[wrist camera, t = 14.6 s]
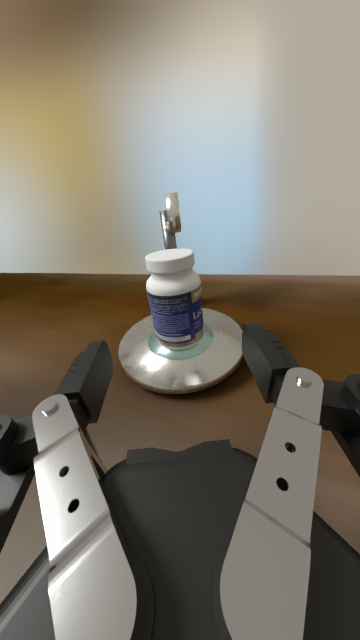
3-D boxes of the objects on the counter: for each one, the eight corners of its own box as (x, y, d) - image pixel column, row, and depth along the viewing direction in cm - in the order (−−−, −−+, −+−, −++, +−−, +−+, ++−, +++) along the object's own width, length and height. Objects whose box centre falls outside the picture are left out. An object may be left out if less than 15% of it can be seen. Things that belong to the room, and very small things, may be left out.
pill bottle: (208, 348, 22) (203, 256, 17) (156, 355, 22) (135, 266, 17) (200, 321, 27) (194, 243, 22) (158, 326, 27) (141, 250, 22)
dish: (109, 409, 19) (102, 394, 18) (133, 324, 32) (129, 313, 31) (264, 391, 19) (267, 376, 18) (226, 313, 32) (226, 301, 31)
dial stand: (160, 329, 30) (133, 197, 21) (162, 299, 39) (144, 196, 30) (200, 324, 30) (190, 189, 21) (193, 295, 39) (184, 191, 30)
